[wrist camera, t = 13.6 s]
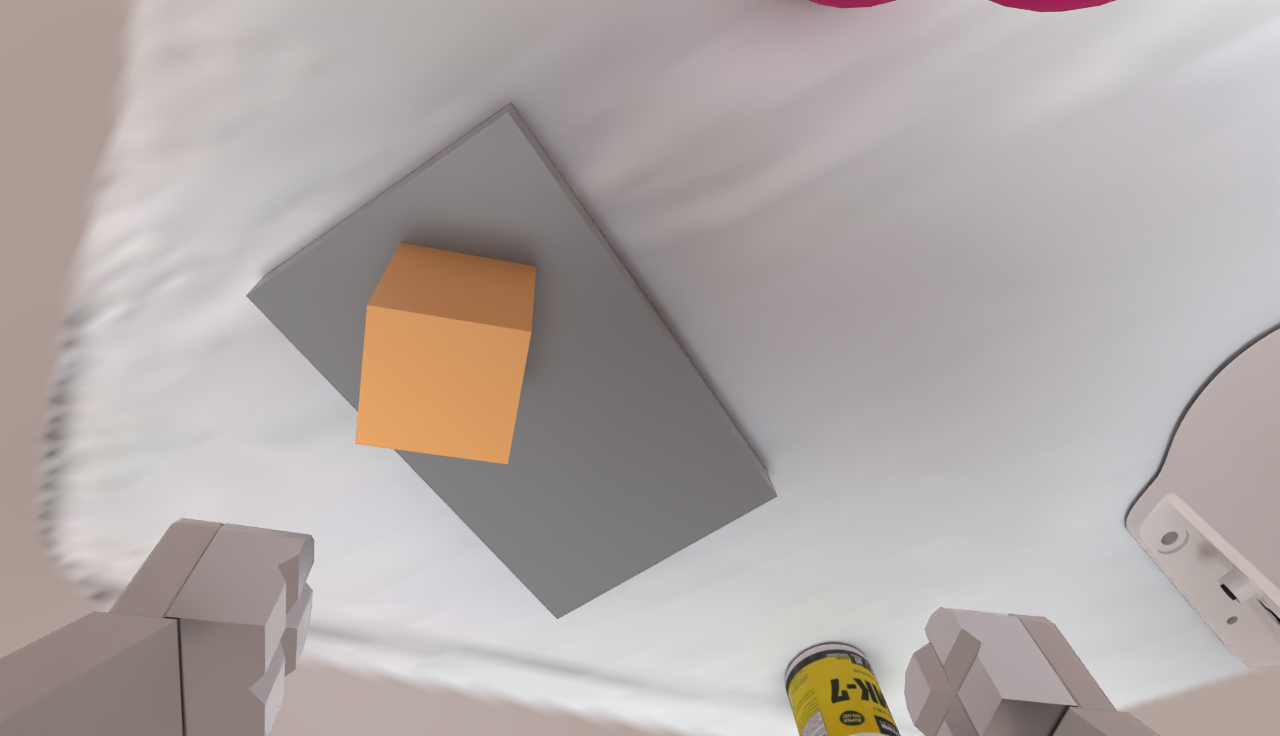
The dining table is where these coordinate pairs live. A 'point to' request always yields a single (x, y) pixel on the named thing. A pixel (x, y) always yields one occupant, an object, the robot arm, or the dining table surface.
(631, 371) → the plate
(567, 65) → the dining table surface
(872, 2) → the pepper mill
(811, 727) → the supplement bottle
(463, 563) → the dining table surface
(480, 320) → the tangerine wooden cube
